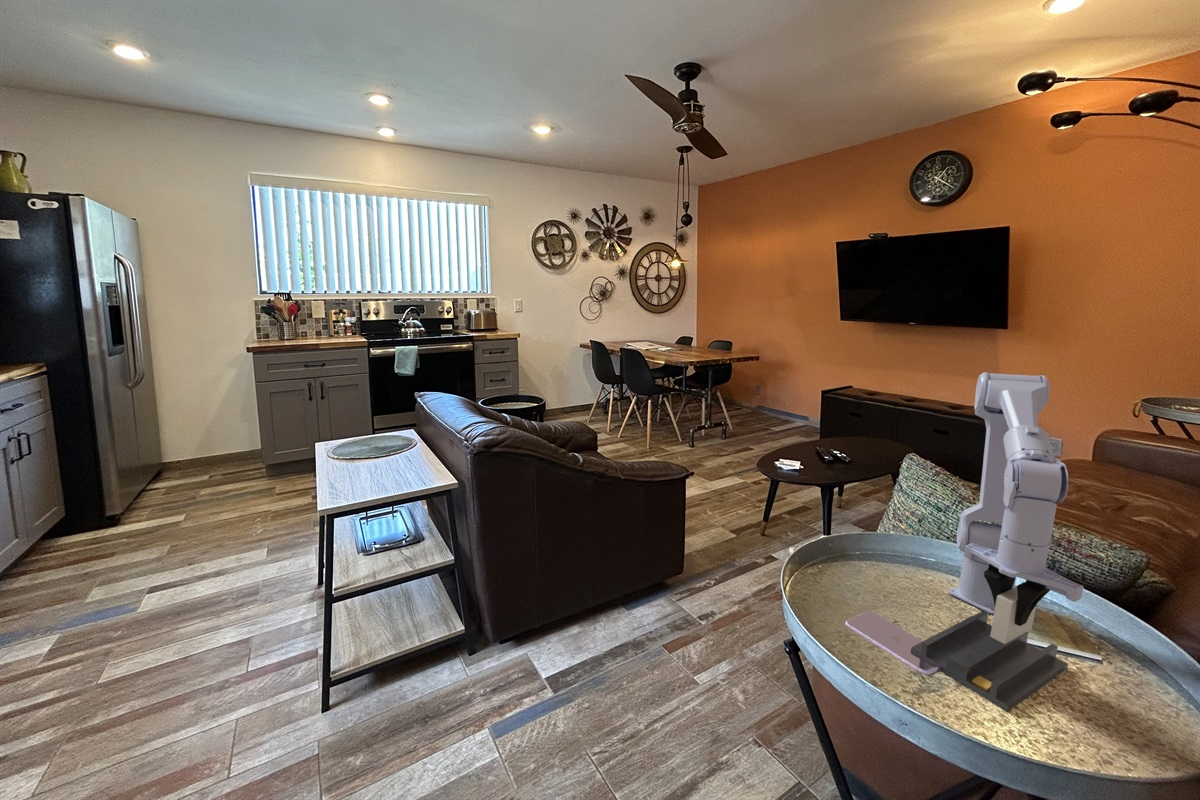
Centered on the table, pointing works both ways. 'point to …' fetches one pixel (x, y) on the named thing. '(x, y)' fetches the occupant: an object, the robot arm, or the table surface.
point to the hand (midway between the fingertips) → (1010, 618)
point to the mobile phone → (891, 640)
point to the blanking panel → (1008, 618)
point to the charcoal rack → (991, 661)
